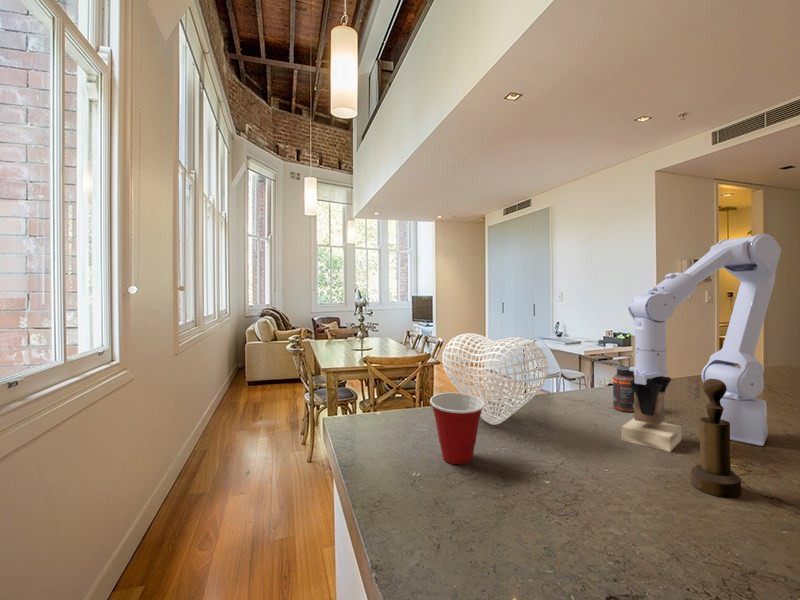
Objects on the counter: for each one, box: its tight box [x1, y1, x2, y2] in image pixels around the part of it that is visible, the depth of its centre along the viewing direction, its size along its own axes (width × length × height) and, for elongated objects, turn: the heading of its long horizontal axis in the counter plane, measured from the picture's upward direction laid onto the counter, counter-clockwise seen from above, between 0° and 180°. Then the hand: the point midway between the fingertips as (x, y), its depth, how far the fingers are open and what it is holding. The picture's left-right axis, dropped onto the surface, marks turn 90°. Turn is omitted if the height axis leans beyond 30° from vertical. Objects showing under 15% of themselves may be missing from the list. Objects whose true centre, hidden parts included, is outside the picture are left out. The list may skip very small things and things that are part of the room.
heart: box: [441, 332, 549, 426], centre depth 98 cm, size 28×16×22 cm, turn 39°
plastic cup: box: [429, 391, 486, 465], centre depth 78 cm, size 11×11×12 cm
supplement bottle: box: [612, 366, 635, 413], centre depth 108 cm, size 6×6×11 cm
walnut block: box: [633, 392, 665, 425], centre depth 86 cm, size 4×4×6 cm
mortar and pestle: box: [690, 379, 742, 498], centre depth 65 cm, size 7×6×18 cm
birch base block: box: [620, 417, 683, 453], centre depth 86 cm, size 9×9×3 cm
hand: (651, 411), depth 86 cm, fingers closed on walnut block, 4 cm apart
